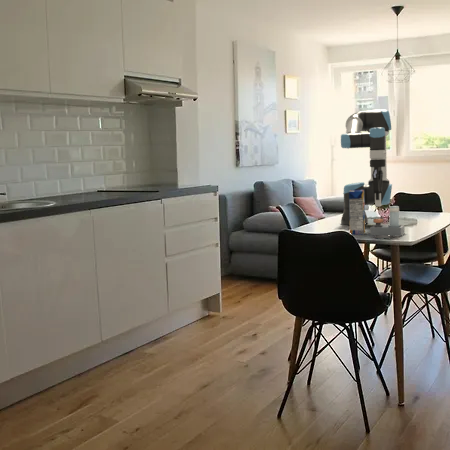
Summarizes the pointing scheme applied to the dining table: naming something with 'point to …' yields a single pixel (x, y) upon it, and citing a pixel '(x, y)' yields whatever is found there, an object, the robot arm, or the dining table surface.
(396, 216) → the cartridge
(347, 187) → the robot arm
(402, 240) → the dining table surface
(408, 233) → the dining table surface
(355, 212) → the beverage box
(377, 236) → the mat
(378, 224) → the plunger
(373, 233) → the housing
